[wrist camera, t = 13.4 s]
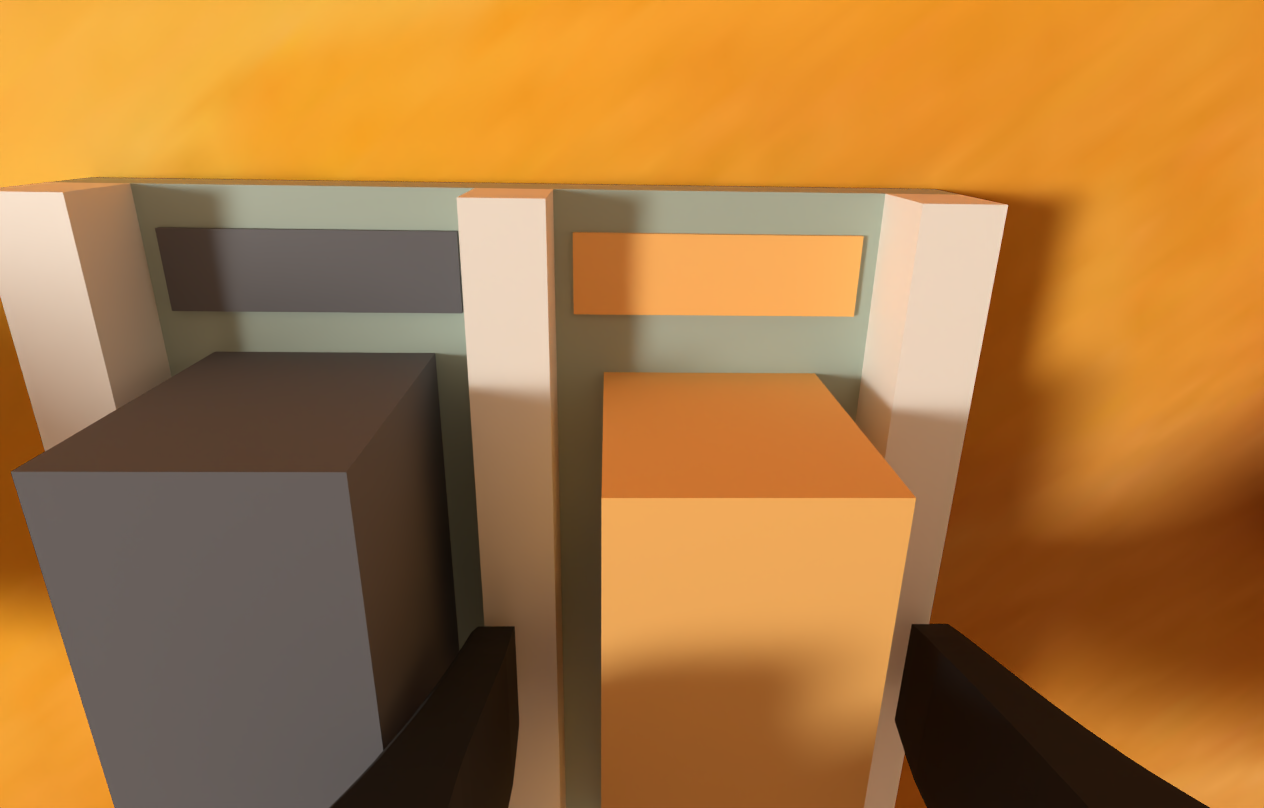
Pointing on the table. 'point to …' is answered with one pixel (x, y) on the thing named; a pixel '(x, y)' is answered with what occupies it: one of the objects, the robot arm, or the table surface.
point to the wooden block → (743, 592)
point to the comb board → (528, 356)
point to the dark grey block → (251, 574)
